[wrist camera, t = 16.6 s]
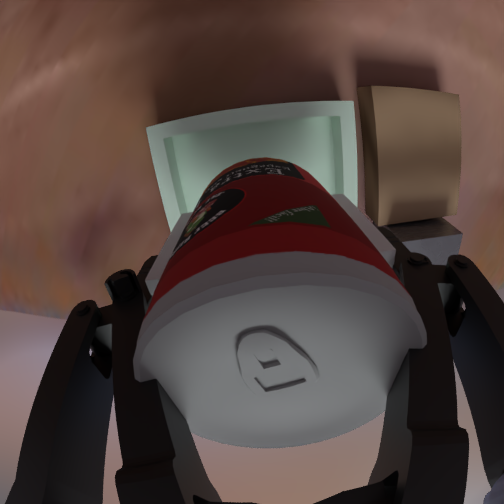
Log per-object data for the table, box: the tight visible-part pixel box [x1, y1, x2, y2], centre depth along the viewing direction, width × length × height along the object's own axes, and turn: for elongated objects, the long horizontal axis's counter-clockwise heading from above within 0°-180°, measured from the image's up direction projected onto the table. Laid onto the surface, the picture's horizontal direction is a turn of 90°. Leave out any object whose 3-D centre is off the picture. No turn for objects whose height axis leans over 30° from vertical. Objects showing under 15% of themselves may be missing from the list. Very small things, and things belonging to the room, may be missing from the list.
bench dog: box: [373, 217, 463, 265], centre depth 19 cm, size 3×6×5 cm, turn 98°
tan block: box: [357, 86, 461, 226], centre depth 17 cm, size 10×8×3 cm
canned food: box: [133, 157, 427, 448], centre depth 11 cm, size 8×8×11 cm
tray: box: [146, 101, 357, 231], centre depth 19 cm, size 13×13×2 cm
